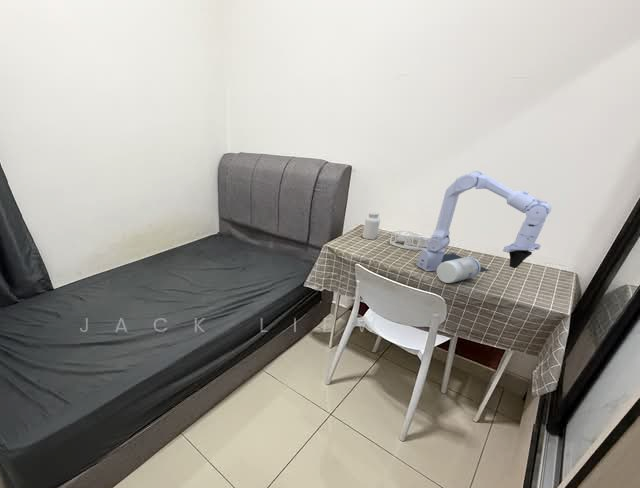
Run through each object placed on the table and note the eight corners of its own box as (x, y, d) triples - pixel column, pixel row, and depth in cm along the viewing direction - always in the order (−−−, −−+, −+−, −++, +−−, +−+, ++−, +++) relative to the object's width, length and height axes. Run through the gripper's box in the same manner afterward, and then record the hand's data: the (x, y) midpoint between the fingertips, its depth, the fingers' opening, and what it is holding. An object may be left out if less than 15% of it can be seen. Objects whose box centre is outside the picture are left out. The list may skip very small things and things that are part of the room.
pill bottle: (363, 239, 179) (368, 214, 172) (361, 234, 186) (365, 210, 179) (377, 240, 178) (383, 215, 171) (374, 235, 185) (379, 211, 177)
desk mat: (457, 273, 138) (457, 273, 138) (426, 256, 156) (426, 256, 156) (487, 270, 141) (487, 269, 141) (453, 253, 158) (453, 253, 158)
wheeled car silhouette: (432, 248, 165) (436, 236, 161) (424, 254, 158) (428, 240, 155) (396, 239, 178) (399, 227, 175) (387, 244, 172) (390, 231, 168)
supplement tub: (472, 281, 134) (448, 288, 130) (455, 267, 140) (431, 273, 135) (486, 266, 127) (461, 272, 123) (468, 251, 133) (444, 257, 128)
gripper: (522, 239, 110) (507, 273, 116) (555, 236, 112) (538, 269, 118) (504, 233, 116) (490, 265, 122) (535, 230, 118) (520, 262, 124)
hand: (512, 267), depth 121 cm, fingers closed
